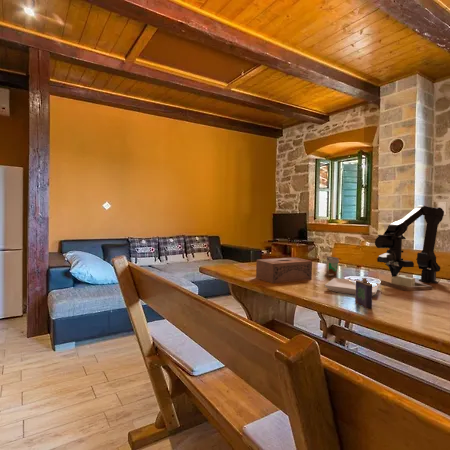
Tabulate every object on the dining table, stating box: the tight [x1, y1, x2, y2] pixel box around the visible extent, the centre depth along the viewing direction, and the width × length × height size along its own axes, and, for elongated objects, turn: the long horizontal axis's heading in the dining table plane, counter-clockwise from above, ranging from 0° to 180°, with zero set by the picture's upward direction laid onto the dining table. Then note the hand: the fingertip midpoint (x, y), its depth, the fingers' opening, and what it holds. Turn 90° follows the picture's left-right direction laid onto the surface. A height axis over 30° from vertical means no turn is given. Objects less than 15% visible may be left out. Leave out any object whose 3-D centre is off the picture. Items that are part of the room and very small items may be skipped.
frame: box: [380, 280, 433, 292], centre depth 158 cm, size 16×16×2 cm
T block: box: [390, 274, 416, 287], centre depth 160 cm, size 10×8×4 cm
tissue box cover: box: [255, 257, 313, 284], centre depth 170 cm, size 26×14×10 cm, turn 118°
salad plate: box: [324, 277, 381, 297], centre depth 147 cm, size 21×21×3 cm
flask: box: [354, 277, 373, 310], centre depth 122 cm, size 9×3×11 cm, turn 8°
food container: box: [325, 256, 340, 278], centre depth 182 cm, size 12×6×10 cm, turn 168°
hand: (393, 278), depth 165 cm, fingers closed
